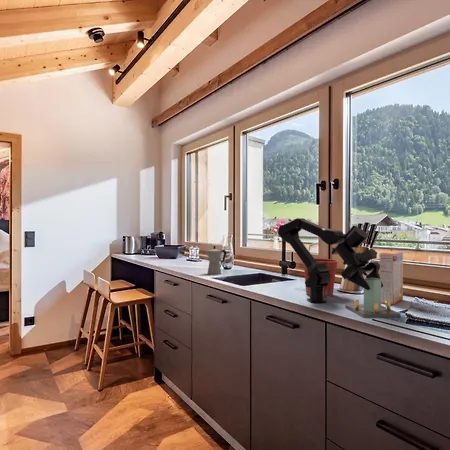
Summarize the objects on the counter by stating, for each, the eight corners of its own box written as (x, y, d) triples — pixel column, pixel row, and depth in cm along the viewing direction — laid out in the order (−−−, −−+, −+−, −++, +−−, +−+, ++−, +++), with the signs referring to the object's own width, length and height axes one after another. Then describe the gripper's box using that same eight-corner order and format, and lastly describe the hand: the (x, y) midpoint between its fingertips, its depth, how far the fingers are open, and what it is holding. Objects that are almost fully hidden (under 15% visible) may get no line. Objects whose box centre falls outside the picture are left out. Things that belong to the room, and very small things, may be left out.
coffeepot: (208, 275, 233) (208, 246, 233) (202, 273, 242) (202, 245, 241) (229, 273, 240) (229, 246, 240) (222, 272, 249) (223, 245, 249)
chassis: (345, 307, 144) (345, 295, 144) (378, 307, 145) (378, 295, 145) (363, 317, 129) (363, 304, 129) (400, 316, 130) (400, 303, 130)
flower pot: (337, 292, 177) (338, 258, 177) (338, 299, 161) (339, 262, 161) (302, 290, 181) (302, 257, 181) (300, 296, 165) (300, 260, 165)
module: (363, 309, 136) (363, 278, 136) (370, 307, 139) (371, 277, 139) (373, 311, 133) (374, 279, 133) (381, 309, 136) (381, 278, 136)
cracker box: (388, 298, 164) (389, 250, 164) (403, 299, 160) (403, 251, 160) (378, 303, 153) (378, 252, 153) (393, 305, 149) (394, 253, 149)
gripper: (348, 242, 133) (377, 276, 124) (375, 241, 145) (403, 272, 136) (330, 262, 139) (356, 296, 130) (357, 259, 151) (383, 290, 142)
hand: (376, 288), depth 135 cm, fingers open, 9 cm apart
